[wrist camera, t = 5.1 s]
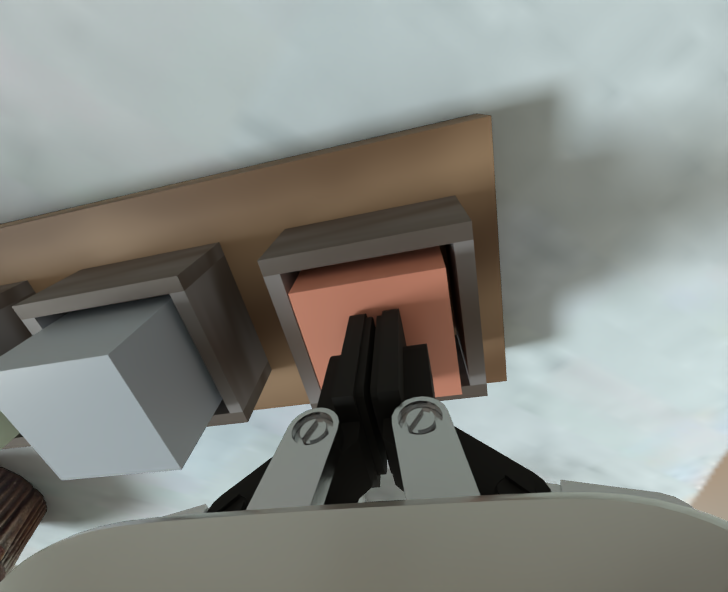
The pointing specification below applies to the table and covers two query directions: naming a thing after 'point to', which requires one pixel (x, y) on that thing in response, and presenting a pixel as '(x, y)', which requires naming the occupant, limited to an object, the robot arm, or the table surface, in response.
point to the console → (273, 255)
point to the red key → (380, 307)
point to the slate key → (110, 390)
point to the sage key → (6, 431)
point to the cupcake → (17, 517)
